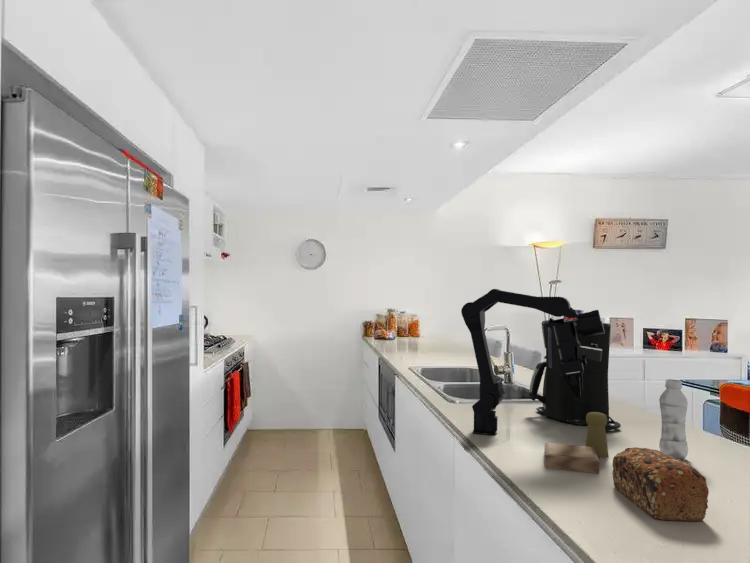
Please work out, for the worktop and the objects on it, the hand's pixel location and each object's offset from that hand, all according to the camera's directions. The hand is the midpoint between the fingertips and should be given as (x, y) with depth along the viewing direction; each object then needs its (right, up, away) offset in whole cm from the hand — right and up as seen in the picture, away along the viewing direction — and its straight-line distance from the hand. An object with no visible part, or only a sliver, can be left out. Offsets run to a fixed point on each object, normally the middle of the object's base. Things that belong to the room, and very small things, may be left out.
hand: (579, 394), depth 153 cm
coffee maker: (+8, -15, +30) cm, 35 cm away
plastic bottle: (+19, -14, -13) cm, 27 cm away
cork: (0, -14, -11) cm, 18 cm away
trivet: (-9, -13, -19) cm, 25 cm away
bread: (-1, -13, -44) cm, 46 cm away
